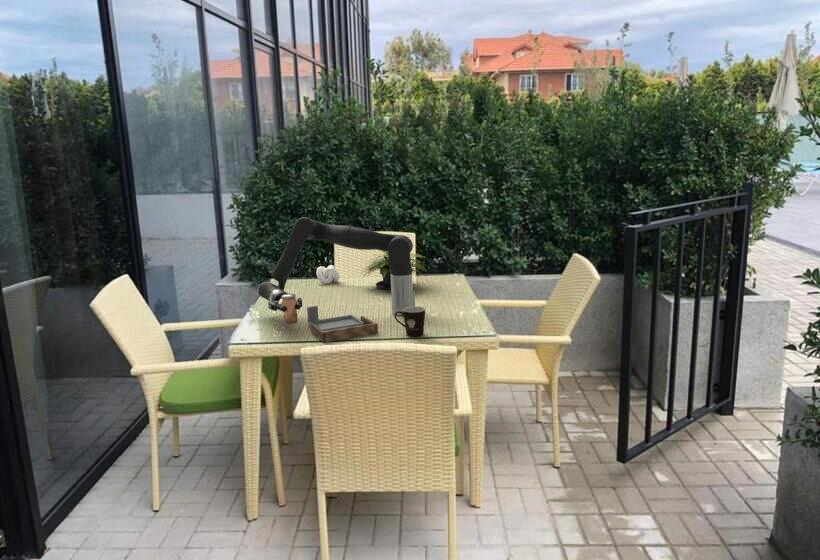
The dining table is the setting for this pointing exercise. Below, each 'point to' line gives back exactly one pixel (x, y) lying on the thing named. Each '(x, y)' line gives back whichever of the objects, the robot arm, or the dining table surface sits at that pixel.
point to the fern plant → (387, 270)
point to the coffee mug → (413, 321)
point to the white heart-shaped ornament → (327, 274)
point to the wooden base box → (345, 331)
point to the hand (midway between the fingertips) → (291, 308)
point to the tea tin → (290, 308)
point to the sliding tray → (331, 320)
